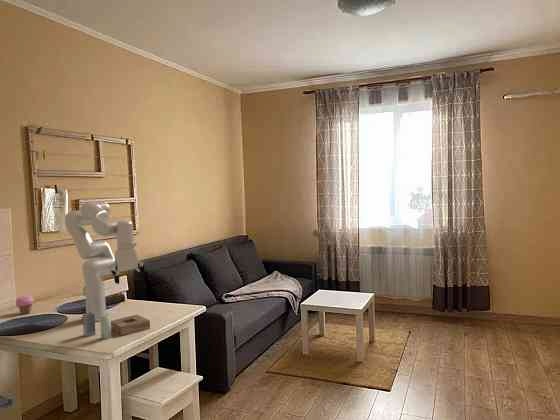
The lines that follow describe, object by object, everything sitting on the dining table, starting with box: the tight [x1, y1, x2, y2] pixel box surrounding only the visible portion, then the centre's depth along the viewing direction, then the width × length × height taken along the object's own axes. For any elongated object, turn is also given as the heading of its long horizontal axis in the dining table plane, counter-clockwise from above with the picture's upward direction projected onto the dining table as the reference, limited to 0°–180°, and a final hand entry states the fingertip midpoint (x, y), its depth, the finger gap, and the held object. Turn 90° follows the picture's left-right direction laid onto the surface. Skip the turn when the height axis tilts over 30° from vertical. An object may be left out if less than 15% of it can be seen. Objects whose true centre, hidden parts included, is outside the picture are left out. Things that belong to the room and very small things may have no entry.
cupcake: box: [15, 295, 35, 315], centre depth 236 cm, size 9×9×10 cm
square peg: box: [82, 312, 96, 338], centre depth 198 cm, size 4×4×10 cm
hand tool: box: [105, 293, 126, 306], centre depth 249 cm, size 23×5×6 cm, turn 141°
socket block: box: [111, 314, 151, 337], centre depth 205 cm, size 14×14×4 cm
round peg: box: [99, 314, 112, 340], centre depth 193 cm, size 4×4×10 cm
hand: (127, 281), depth 204 cm, fingers open, 9 cm apart
